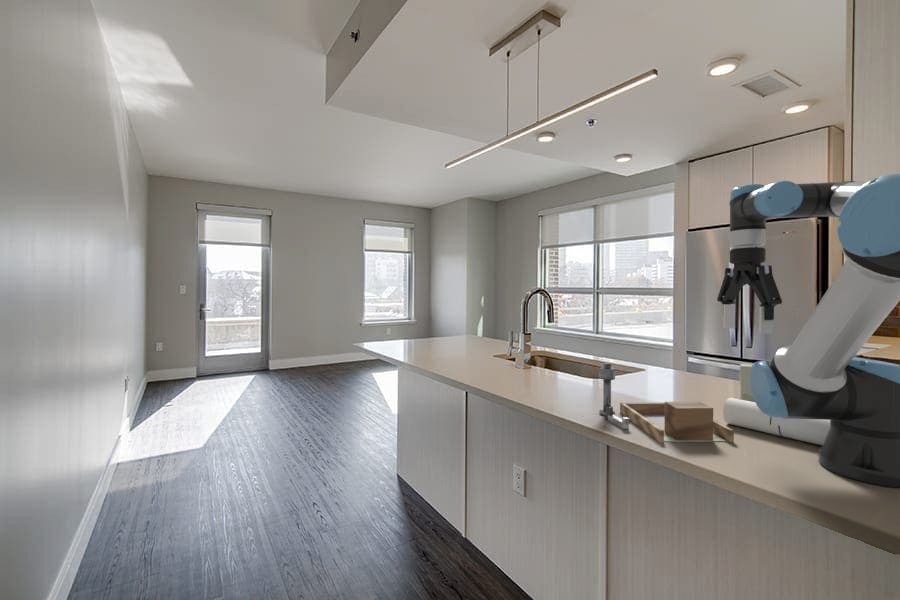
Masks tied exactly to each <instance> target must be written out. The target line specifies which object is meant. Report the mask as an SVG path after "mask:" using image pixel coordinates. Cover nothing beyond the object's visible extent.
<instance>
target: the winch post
mask: <svg viewBox="0 0 900 600" xmlns="http://www.w3.org/2000/svg"><path fill="white" fill-rule="evenodd" d="M598 371H599V379H600V380H602V381H603V382H602V384H603V385H602V387H603V388H602V392H603V394H602V395H603V397H602V401H603V402H602V403H603V404H602V409H600V410H599V412H598V413H599V415H600V416H603V417H606V406H611V407H612V381H614V380H616V368H614V367H612V363H611V362H603V366H602V367H599V370H598ZM613 415H615V416H616V411H614V410H613Z"/></svg>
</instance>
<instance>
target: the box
mask: <svg viewBox="0 0 900 600" xmlns="http://www.w3.org/2000/svg"><path fill="white" fill-rule="evenodd" d="M752 365H753V364H748V363H747V364H746V363H740V364H739V387H740V388H739V389H740V390H739V393H740V394H739V396H740V400H745V401H750V402H755V401H754V398H753V395H752V392H751V387H750V370H751V367H752Z"/></svg>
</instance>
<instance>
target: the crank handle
mask: <svg viewBox="0 0 900 600" xmlns="http://www.w3.org/2000/svg"><path fill="white" fill-rule="evenodd" d="M613 411H614V407H613V406H612V405H611V406H606V416H605V420H606V421H608V422H610V423H612V424H613V425H615V426H617V427H619V428H620V429H622V430H629V428H630V424H631V420H630V418H628V417H625V416H623V417H622V418H620V417H618V416H616V414H615V415H613Z"/></svg>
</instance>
